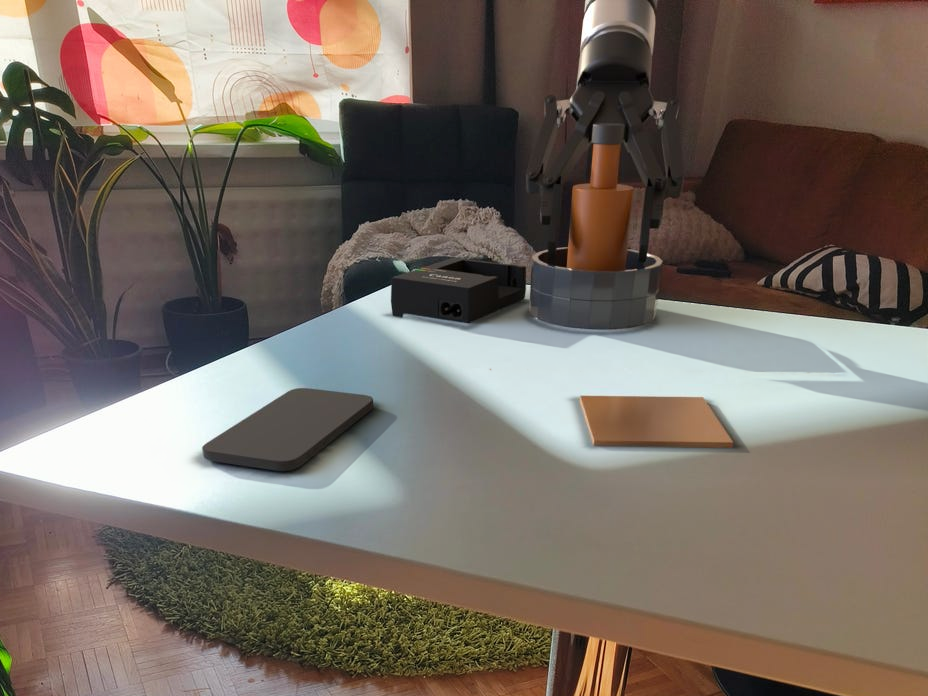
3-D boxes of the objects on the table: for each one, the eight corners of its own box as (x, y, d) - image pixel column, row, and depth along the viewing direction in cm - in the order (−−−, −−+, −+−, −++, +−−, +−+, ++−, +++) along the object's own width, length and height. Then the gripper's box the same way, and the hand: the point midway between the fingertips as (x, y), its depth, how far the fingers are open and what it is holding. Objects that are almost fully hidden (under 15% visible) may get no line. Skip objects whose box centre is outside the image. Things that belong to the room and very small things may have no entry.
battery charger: (468, 329, 91) (469, 288, 89) (390, 317, 95) (389, 277, 93) (525, 303, 100) (527, 266, 98) (452, 293, 104) (452, 257, 102)
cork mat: (702, 403, 72) (703, 396, 72) (732, 448, 64) (733, 442, 64) (579, 401, 73) (579, 395, 72) (593, 447, 64) (594, 440, 64)
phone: (378, 396, 71) (292, 463, 59) (379, 406, 71) (293, 475, 59) (294, 386, 73) (194, 449, 61) (295, 396, 73) (196, 461, 61)
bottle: (616, 306, 97) (635, 122, 88) (624, 320, 92) (645, 126, 83) (561, 305, 97) (574, 121, 88) (566, 319, 92) (580, 126, 83)
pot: (643, 304, 100) (650, 247, 97) (664, 335, 89) (673, 272, 86) (526, 303, 101) (529, 246, 97) (533, 334, 90) (536, 271, 86)
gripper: (713, 88, 95) (699, 279, 91) (515, 86, 98) (493, 271, 93) (726, 26, 88) (712, 231, 83) (513, 26, 90) (489, 224, 86)
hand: (597, 252), depth 88 cm, fingers open, 8 cm apart
